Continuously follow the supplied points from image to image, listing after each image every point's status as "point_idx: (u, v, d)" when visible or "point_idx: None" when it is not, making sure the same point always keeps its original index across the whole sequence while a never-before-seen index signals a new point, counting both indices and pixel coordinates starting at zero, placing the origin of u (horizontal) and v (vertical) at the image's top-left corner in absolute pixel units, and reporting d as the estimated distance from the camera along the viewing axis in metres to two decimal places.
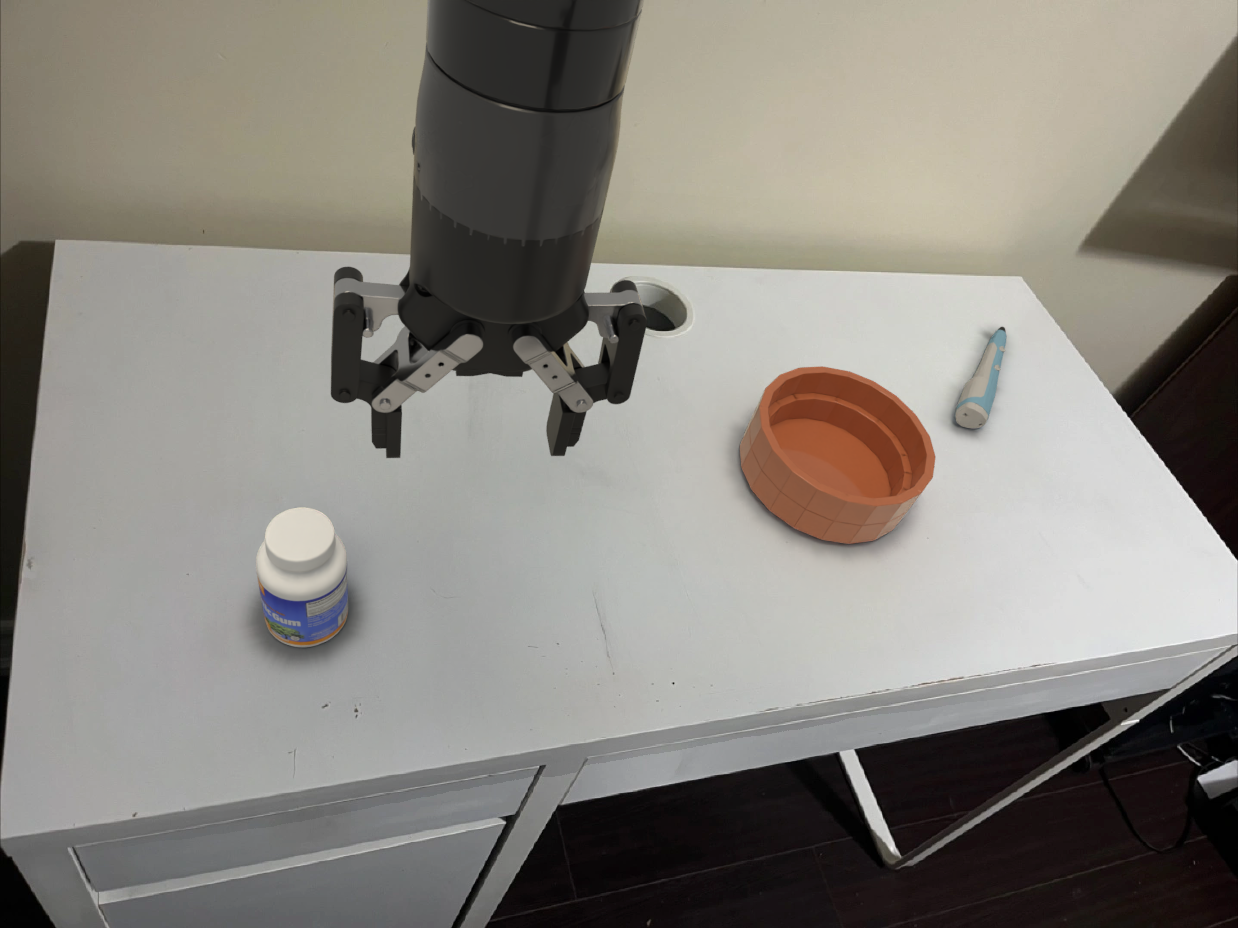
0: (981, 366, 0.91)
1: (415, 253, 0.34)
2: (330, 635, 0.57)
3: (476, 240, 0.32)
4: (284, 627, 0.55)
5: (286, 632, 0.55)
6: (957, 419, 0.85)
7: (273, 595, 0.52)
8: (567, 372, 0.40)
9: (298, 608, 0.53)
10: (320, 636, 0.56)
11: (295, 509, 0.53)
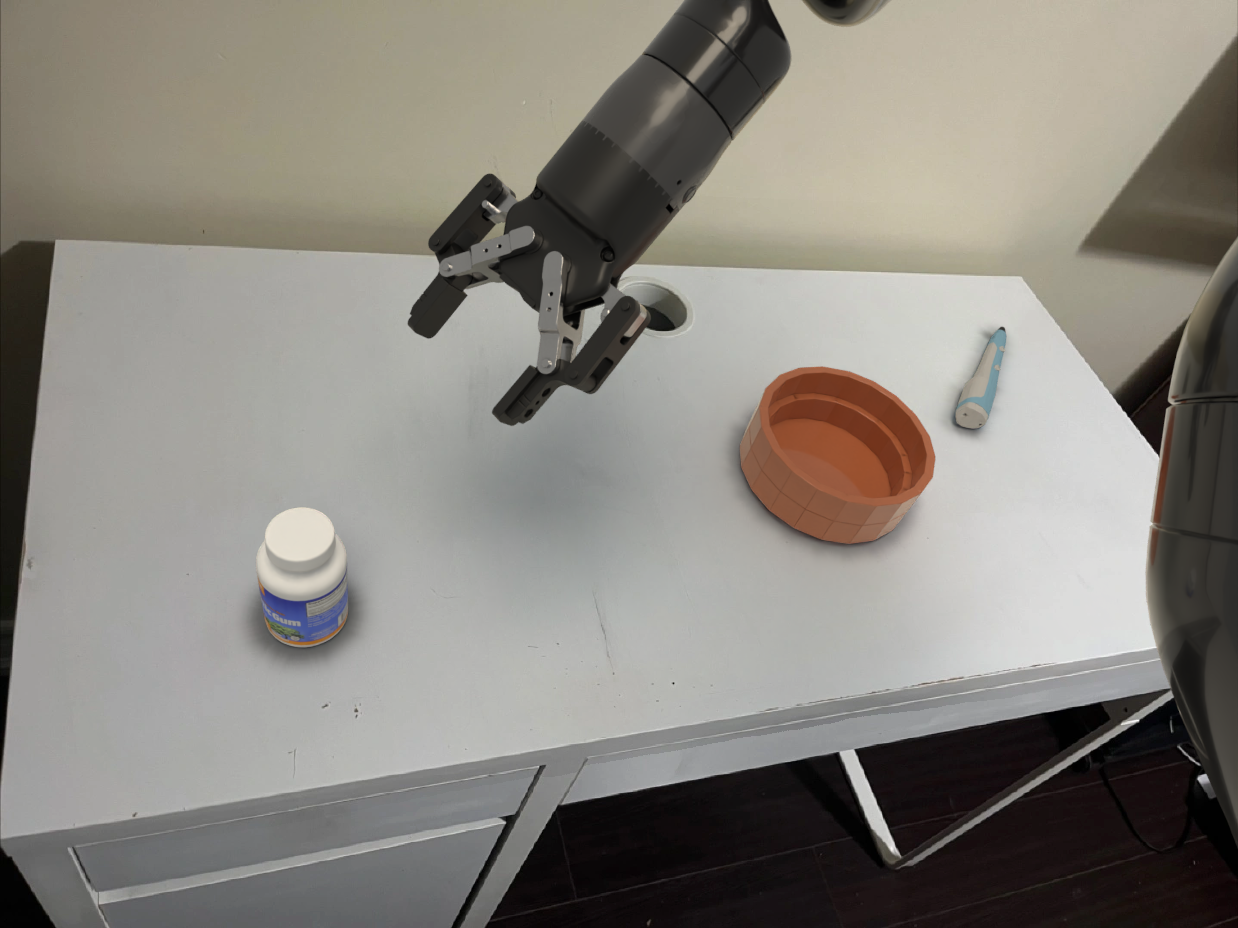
0: (981, 366, 0.91)
1: None
2: (330, 635, 0.57)
3: (584, 129, 0.47)
4: (284, 627, 0.55)
5: (286, 632, 0.55)
6: (957, 419, 0.85)
7: (273, 595, 0.52)
8: (559, 313, 0.48)
9: (298, 608, 0.53)
10: (320, 636, 0.56)
11: (295, 509, 0.53)
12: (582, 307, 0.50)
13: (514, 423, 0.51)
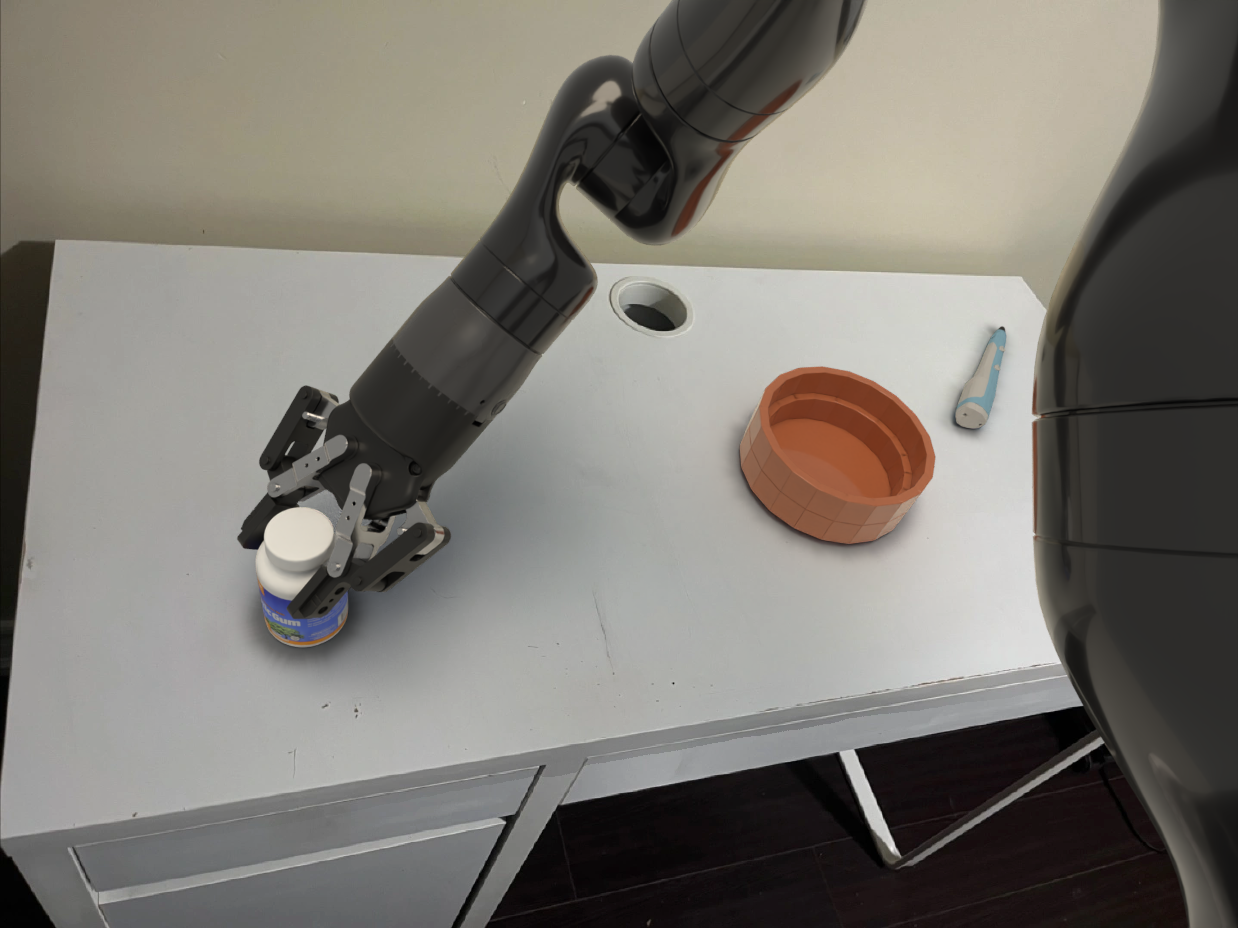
0: (981, 366, 0.91)
1: None
2: (330, 635, 0.57)
3: (389, 350, 0.48)
4: (283, 627, 0.55)
5: (286, 632, 0.55)
6: (957, 419, 0.85)
7: (272, 595, 0.52)
8: (356, 525, 0.50)
9: None
10: (320, 636, 0.56)
11: (294, 509, 0.53)
12: (389, 515, 0.51)
13: None
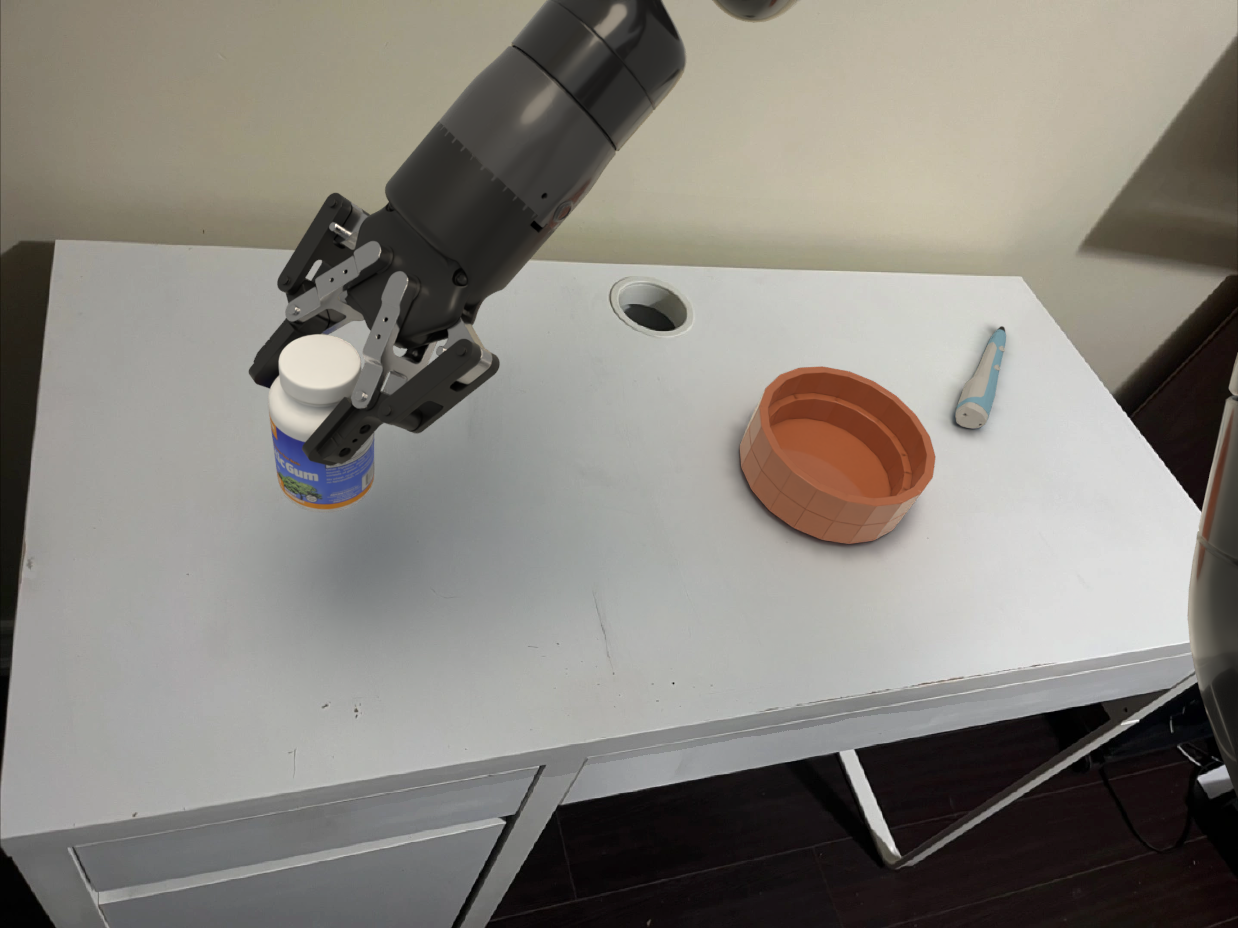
0: (981, 366, 0.91)
1: None
2: (352, 500, 0.49)
3: (435, 130, 0.40)
4: (298, 483, 0.47)
5: (301, 489, 0.47)
6: (957, 419, 0.85)
7: (286, 436, 0.44)
8: (387, 344, 0.41)
9: None
10: (341, 499, 0.48)
11: (316, 336, 0.44)
12: (426, 341, 0.43)
13: (333, 463, 0.44)
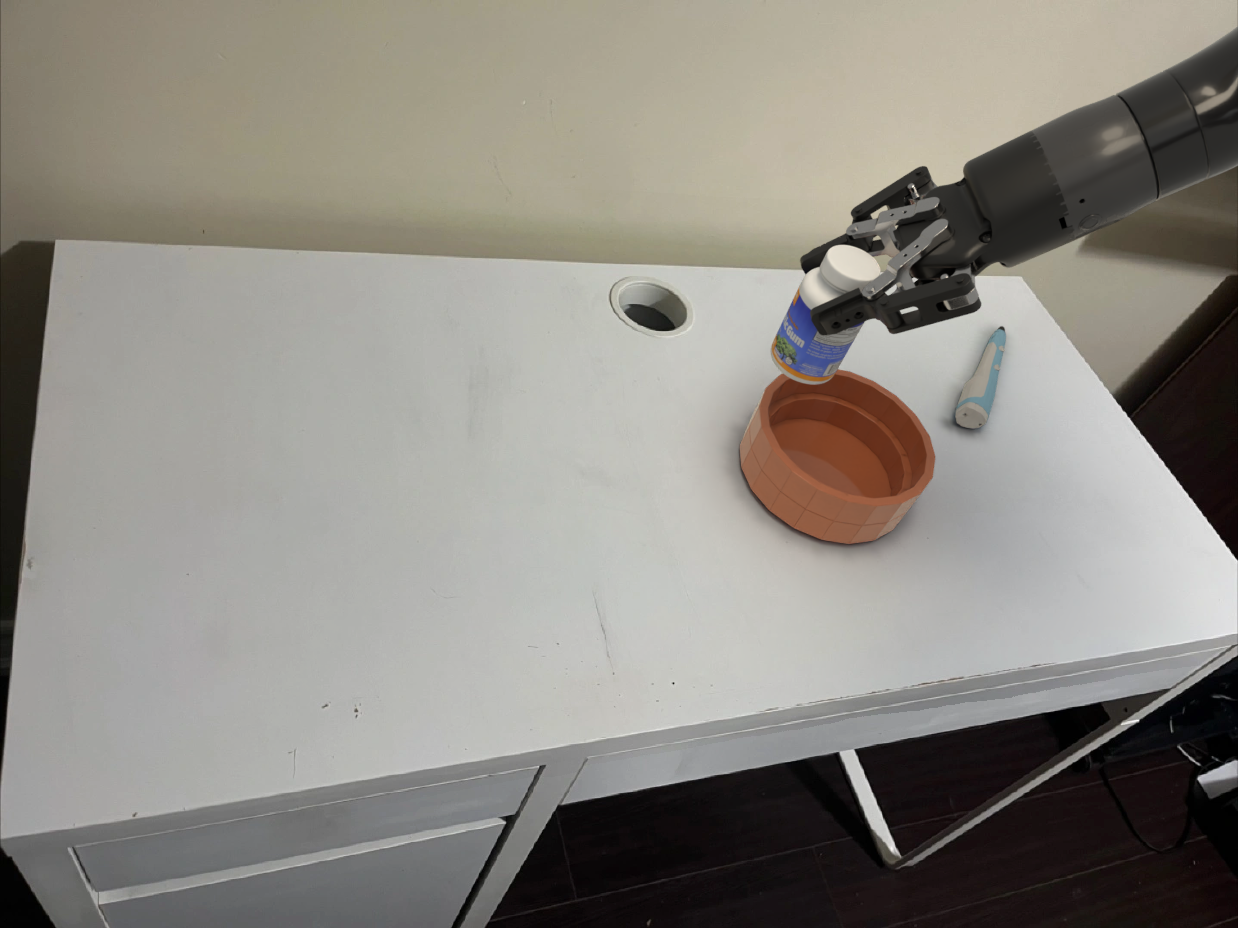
0: (981, 366, 0.91)
1: None
2: (812, 378, 0.65)
3: (1024, 134, 0.54)
4: (788, 344, 0.64)
5: (786, 350, 0.64)
6: (957, 419, 0.85)
7: (803, 302, 0.61)
8: (908, 261, 0.56)
9: (813, 325, 0.61)
10: (806, 371, 0.64)
11: (858, 249, 0.61)
12: (934, 276, 0.57)
13: (822, 333, 0.60)
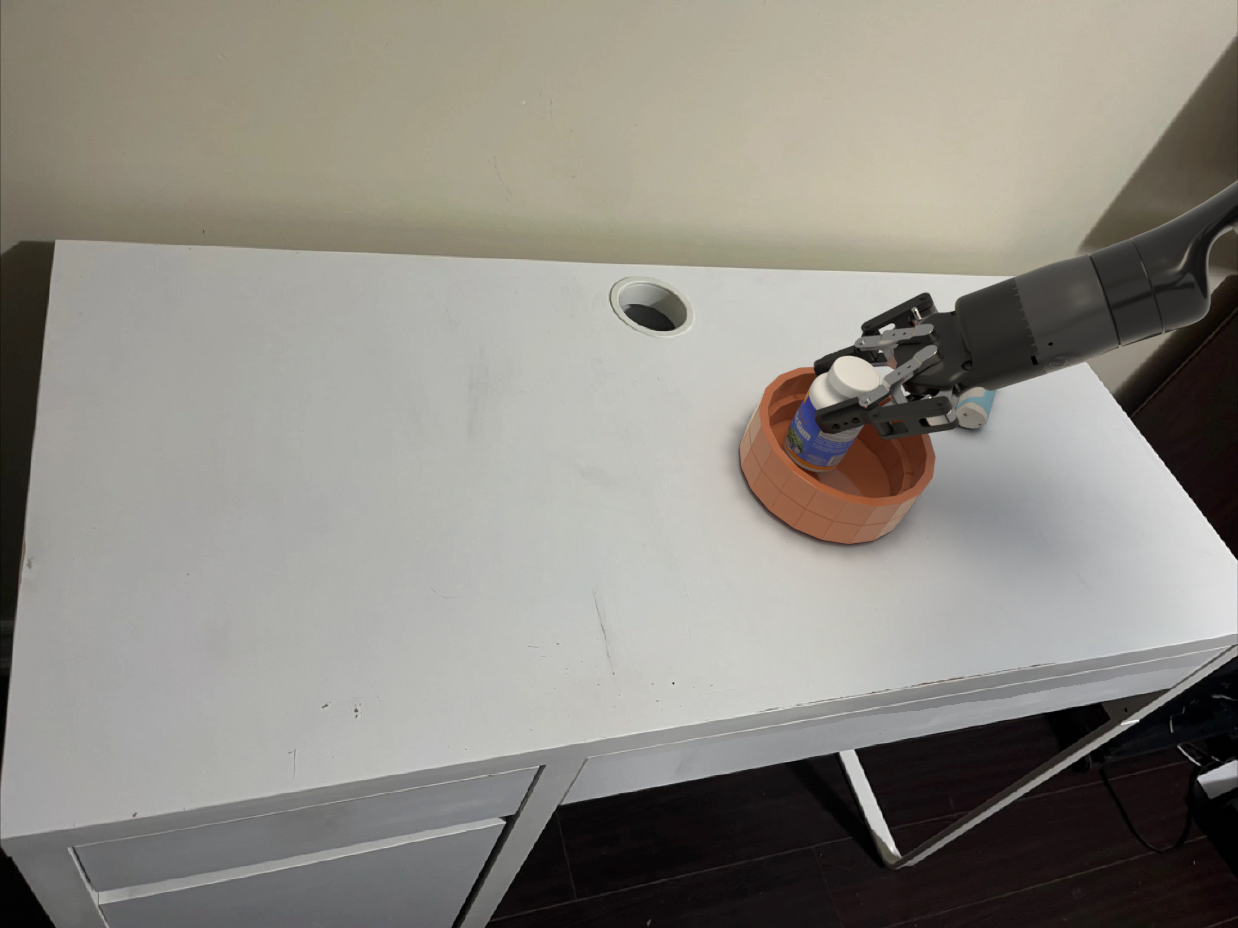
0: None
1: None
2: (817, 467, 0.73)
3: (1008, 280, 0.62)
4: (797, 436, 0.73)
5: (795, 441, 0.73)
6: None
7: (811, 403, 0.70)
8: (900, 379, 0.65)
9: None
10: (812, 461, 0.73)
11: (863, 360, 0.70)
12: (923, 393, 0.65)
13: (825, 431, 0.69)
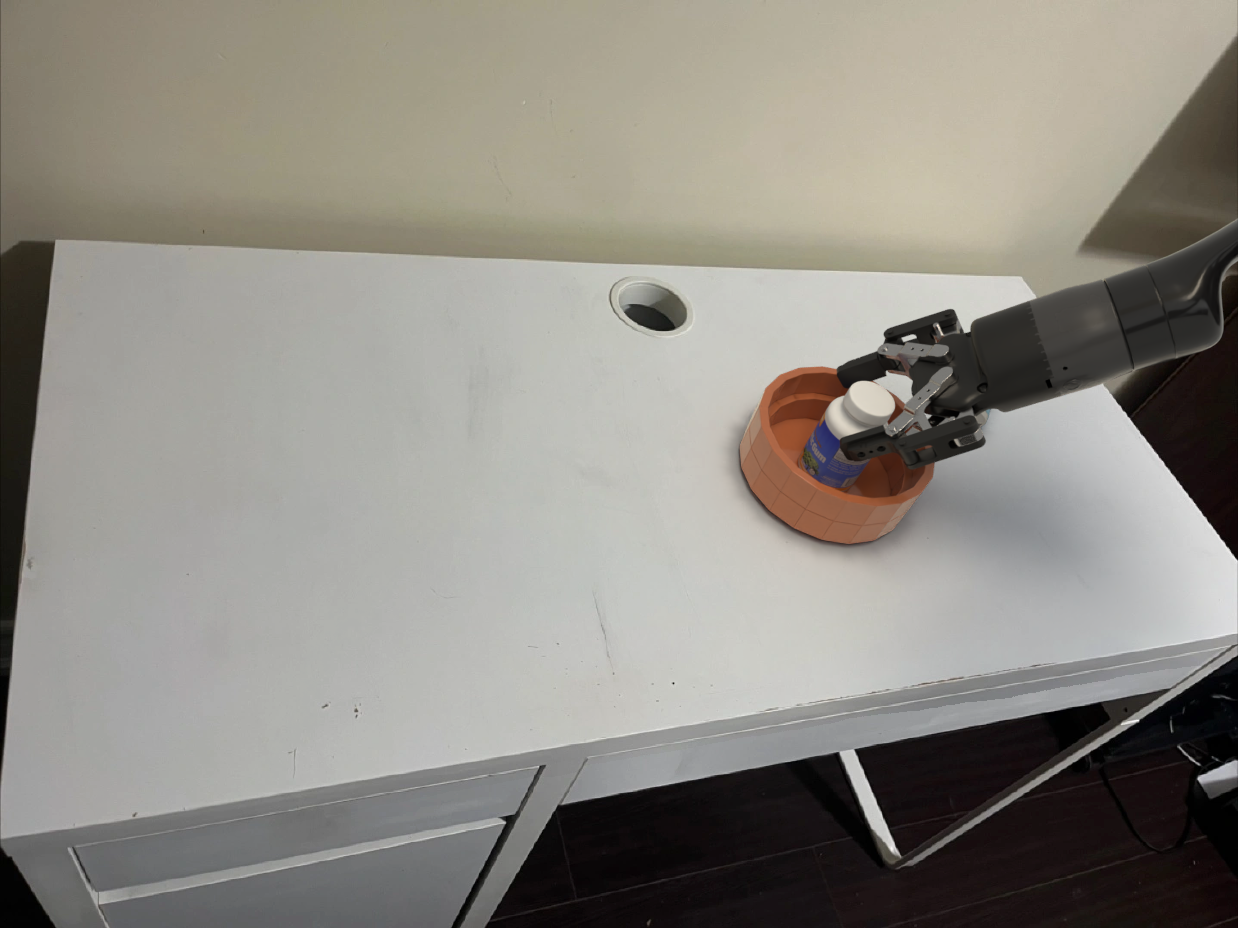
0: None
1: None
2: None
3: (1023, 304, 0.63)
4: (812, 458, 0.74)
5: (811, 463, 0.74)
6: None
7: (826, 426, 0.72)
8: (923, 403, 0.65)
9: (834, 446, 0.72)
10: (826, 482, 0.74)
11: (878, 385, 0.71)
12: (945, 414, 0.66)
13: (849, 458, 0.69)
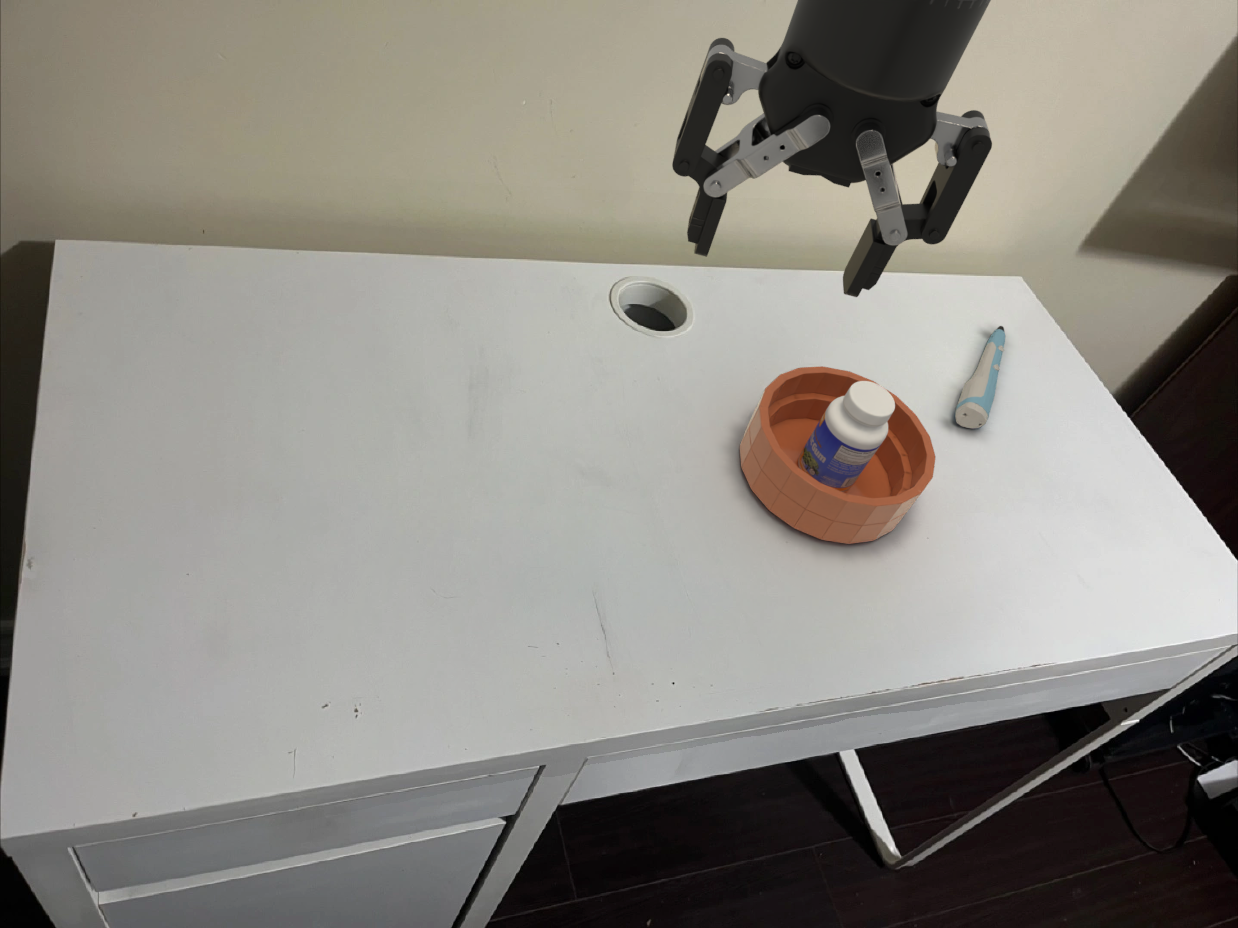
0: (980, 366, 0.91)
1: (798, 17, 0.37)
2: None
3: None
4: (812, 458, 0.74)
5: (811, 463, 0.74)
6: (957, 419, 0.85)
7: (826, 426, 0.72)
8: (895, 188, 0.41)
9: (834, 446, 0.72)
10: (826, 482, 0.74)
11: (878, 385, 0.71)
12: None
13: None
